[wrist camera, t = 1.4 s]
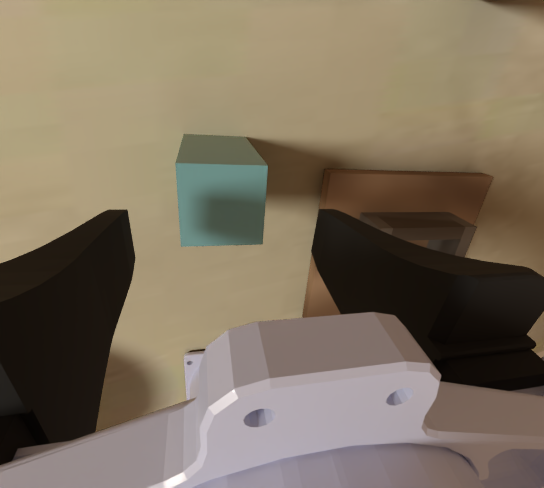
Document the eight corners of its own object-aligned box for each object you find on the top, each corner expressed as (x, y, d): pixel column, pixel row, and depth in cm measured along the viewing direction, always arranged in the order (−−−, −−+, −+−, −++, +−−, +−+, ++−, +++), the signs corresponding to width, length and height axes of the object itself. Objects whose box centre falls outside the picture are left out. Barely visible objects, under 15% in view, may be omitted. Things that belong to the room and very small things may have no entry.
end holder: (430, 305, 32) (459, 334, 29) (302, 316, 29) (316, 349, 26) (481, 173, 26) (527, 188, 22) (324, 168, 23) (348, 185, 19)
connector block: (243, 194, 23) (262, 244, 16) (186, 193, 22) (180, 246, 15) (245, 136, 21) (267, 165, 14) (183, 134, 20) (175, 163, 13)
